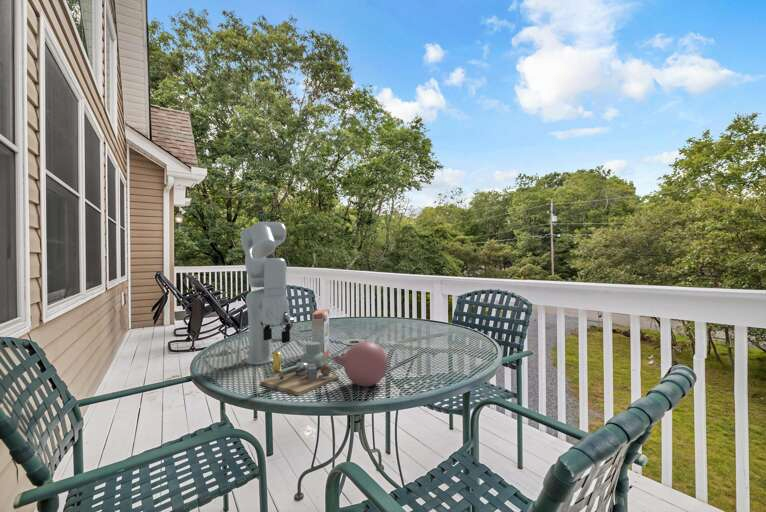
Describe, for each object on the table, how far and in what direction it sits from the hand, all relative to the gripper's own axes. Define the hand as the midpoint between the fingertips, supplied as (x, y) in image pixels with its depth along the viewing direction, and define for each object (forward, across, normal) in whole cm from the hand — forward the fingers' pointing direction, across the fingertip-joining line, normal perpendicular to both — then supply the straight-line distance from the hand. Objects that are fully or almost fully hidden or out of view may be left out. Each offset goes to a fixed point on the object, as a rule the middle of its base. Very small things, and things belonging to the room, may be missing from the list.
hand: (276, 341), depth 132 cm
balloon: (+17, +23, +17) cm, 34 cm away
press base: (+16, +2, +8) cm, 19 cm away
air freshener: (+16, -7, +24) cm, 30 cm away
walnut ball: (+15, +9, +15) cm, 23 cm away
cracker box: (+16, -16, +38) cm, 44 cm away
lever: (+13, -1, +7) cm, 15 cm away
